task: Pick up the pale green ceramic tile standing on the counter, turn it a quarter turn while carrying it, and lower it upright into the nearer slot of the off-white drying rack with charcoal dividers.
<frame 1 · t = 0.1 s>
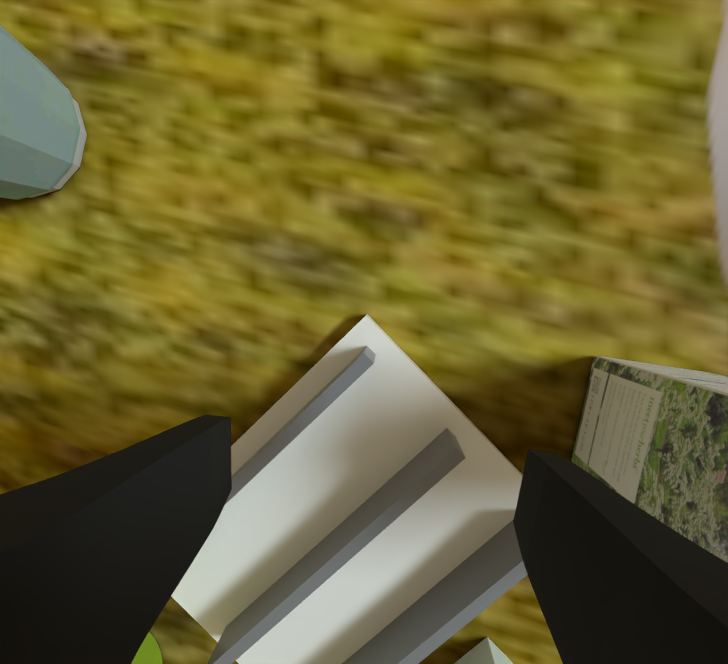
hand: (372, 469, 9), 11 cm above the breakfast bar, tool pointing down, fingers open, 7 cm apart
soap dispenser: (113, 647, 22), on the breakfast bar
dish rack: (338, 524, 21), on the breakfast bar
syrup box: (632, 416, 19), on the breakfast bar
disposable coffee cup: (30, 132, 20), on the breakfast bar
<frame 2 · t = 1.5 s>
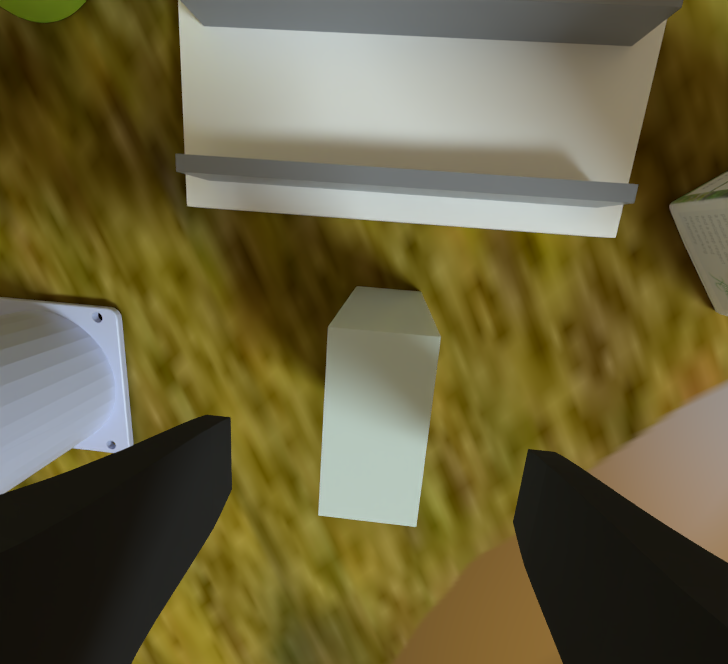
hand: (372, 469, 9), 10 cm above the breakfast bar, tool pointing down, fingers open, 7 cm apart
dish rack: (411, 39, 15), on the breakfast bar
ceramic tile: (383, 349, 19), on the breakfast bar
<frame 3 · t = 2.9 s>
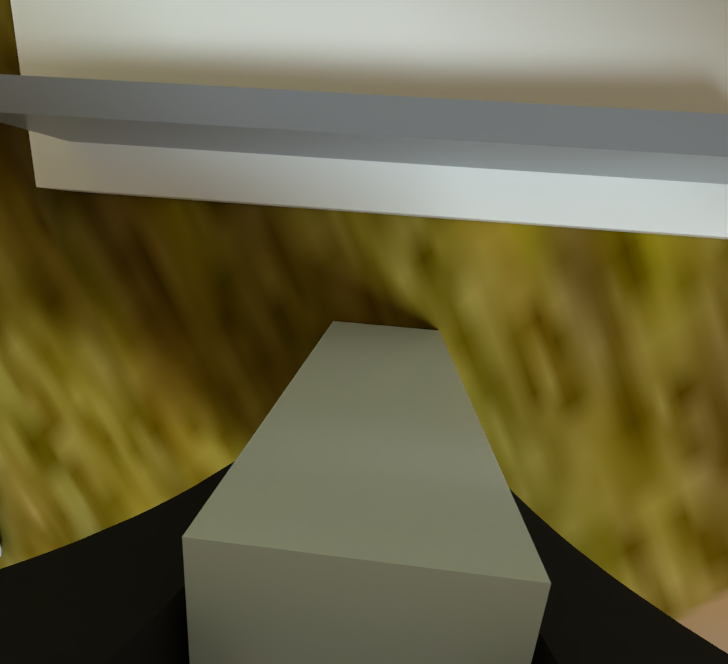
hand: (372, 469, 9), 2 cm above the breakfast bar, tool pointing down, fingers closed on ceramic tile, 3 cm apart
ceramic tile: (377, 421, 12), on the breakfast bar, touching gripper
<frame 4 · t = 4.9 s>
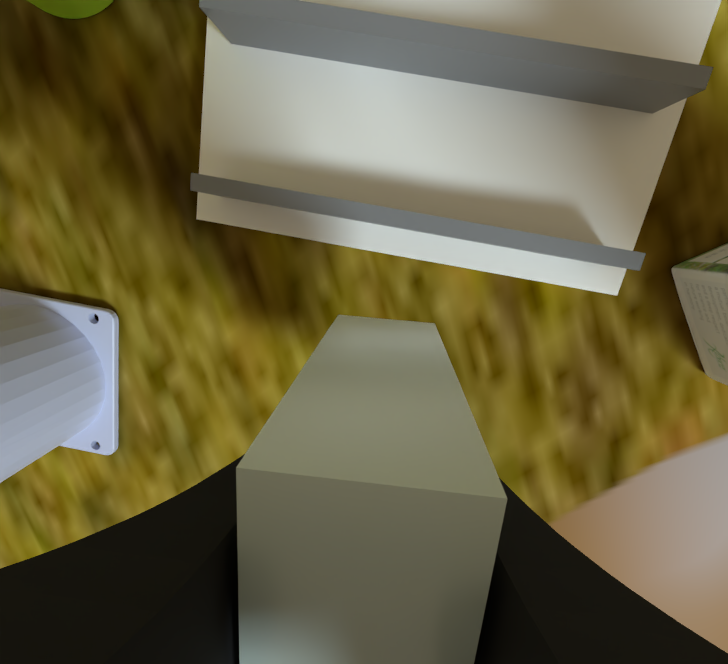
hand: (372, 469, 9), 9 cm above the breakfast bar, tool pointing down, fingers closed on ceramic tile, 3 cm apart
dish rack: (437, 79, 15), on the breakfast bar
ceramic tile: (378, 406, 13), point 6 cm above the breakfast bar, touching gripper
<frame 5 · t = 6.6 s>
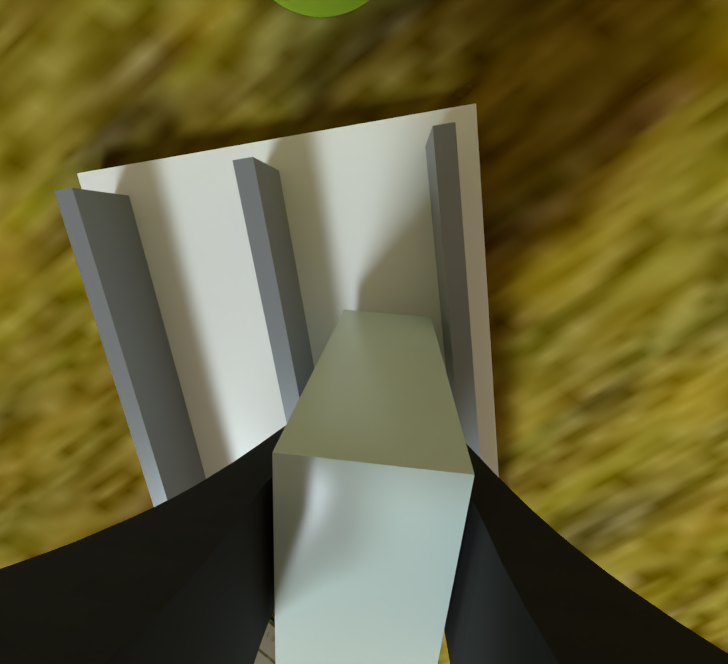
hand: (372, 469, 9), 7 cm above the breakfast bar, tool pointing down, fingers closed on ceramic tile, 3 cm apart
dish rack: (315, 377, 16), on the breakfast bar
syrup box: (254, 648, 21), on the breakfast bar
ceramic tile: (380, 390, 14), point 2 cm above the breakfast bar, touching gripper
when the fingers open (5 cm above the breakfast bar, at t = 7.3 s): ceramic tile stays where it is, resting on dish rack.
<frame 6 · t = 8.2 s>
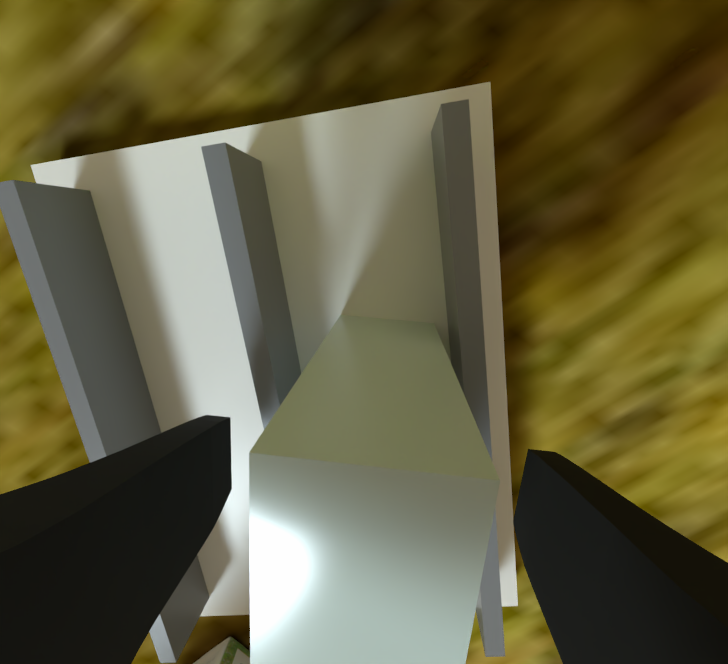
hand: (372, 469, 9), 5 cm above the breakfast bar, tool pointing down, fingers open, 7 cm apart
dish rack: (305, 396, 14), on the breakfast bar
ceramic tile: (379, 404, 13), point 1 cm above the breakfast bar, touching dish rack
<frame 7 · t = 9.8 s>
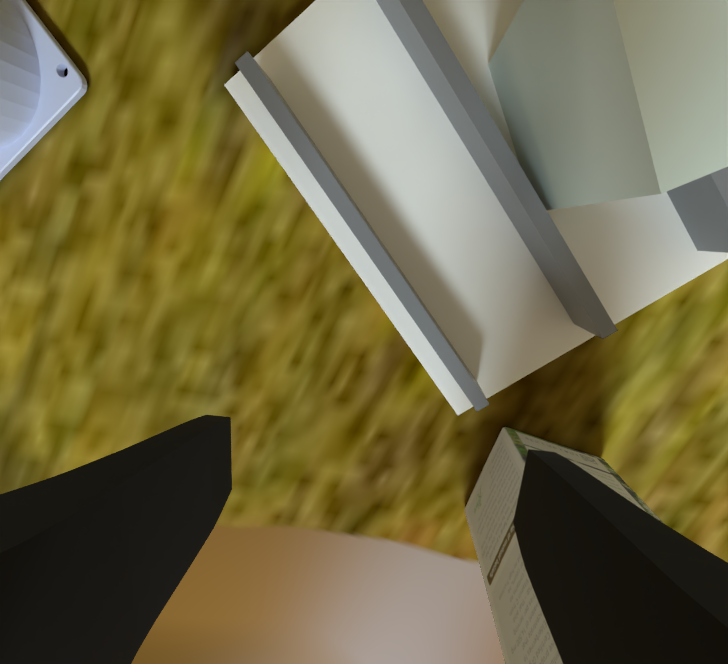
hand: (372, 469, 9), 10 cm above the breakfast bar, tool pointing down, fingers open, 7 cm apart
dish rack: (481, 169, 17), on the breakfast bar
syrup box: (529, 480, 21), on the breakfast bar
ceramic tile: (548, 124, 15), point 1 cm above the breakfast bar, touching dish rack
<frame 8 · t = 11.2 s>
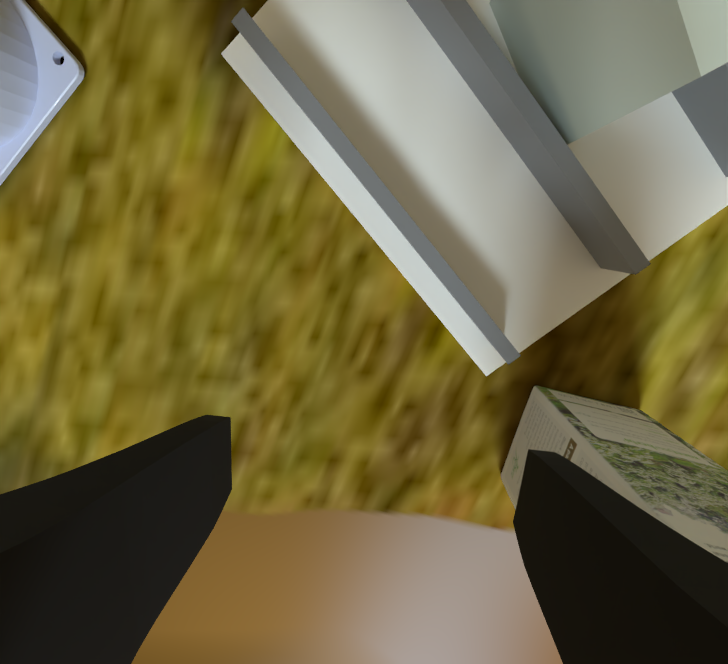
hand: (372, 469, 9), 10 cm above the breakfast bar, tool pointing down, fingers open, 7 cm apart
dish rack: (489, 116, 16), on the breakfast bar
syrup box: (566, 440, 20), on the breakfast bar
ceramic tile: (557, 59, 15), point 1 cm above the breakfast bar, touching dish rack
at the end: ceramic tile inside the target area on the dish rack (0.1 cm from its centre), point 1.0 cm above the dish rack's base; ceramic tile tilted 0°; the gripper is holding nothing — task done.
